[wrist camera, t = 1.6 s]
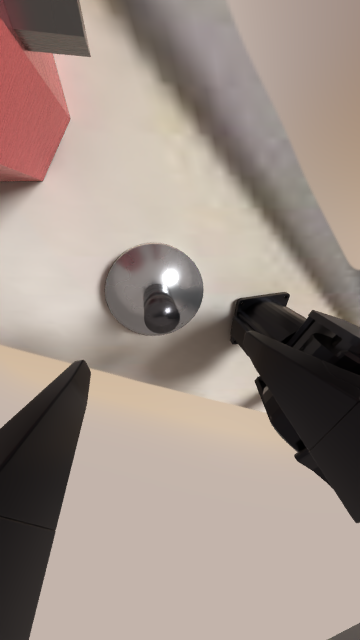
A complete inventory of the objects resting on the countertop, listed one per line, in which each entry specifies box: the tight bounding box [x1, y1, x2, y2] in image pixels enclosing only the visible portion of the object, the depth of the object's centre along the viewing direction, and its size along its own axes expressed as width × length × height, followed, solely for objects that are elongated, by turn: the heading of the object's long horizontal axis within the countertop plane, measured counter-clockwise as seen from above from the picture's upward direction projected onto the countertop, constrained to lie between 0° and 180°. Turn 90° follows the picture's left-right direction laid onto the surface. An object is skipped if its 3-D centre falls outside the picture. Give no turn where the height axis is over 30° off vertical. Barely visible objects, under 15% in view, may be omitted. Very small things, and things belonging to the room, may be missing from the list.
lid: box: [105, 243, 203, 335], centre depth 14 cm, size 9×9×5 cm
